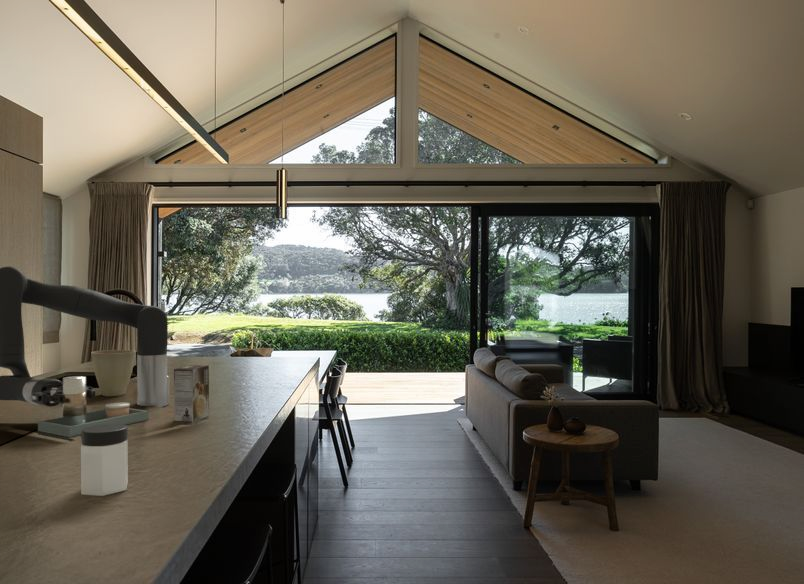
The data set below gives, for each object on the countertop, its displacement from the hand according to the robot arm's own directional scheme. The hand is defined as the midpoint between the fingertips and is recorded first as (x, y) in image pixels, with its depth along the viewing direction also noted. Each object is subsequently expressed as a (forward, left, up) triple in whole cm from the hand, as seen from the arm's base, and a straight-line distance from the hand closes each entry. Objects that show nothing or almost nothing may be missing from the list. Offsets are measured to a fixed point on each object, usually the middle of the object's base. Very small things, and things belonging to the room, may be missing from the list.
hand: (79, 396), depth 168 cm
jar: (+26, +48, -10) cm, 56 cm away
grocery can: (0, -2, -9) cm, 9 cm away
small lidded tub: (-13, -2, -9) cm, 16 cm away
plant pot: (-44, -47, -10) cm, 65 cm away
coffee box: (-26, +14, -10) cm, 31 cm away
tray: (-6, -2, -10) cm, 12 cm away
